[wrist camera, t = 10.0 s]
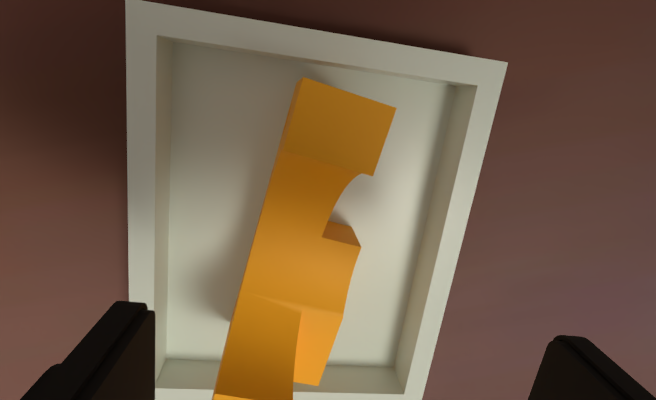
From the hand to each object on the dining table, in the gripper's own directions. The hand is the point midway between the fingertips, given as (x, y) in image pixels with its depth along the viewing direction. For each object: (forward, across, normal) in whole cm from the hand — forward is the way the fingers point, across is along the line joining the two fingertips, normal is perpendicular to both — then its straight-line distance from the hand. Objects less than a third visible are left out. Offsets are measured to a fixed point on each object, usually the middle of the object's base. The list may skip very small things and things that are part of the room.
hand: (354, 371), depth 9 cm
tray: (+10, +1, 0) cm, 10 cm away
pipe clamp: (+9, +1, 0) cm, 9 cm away
